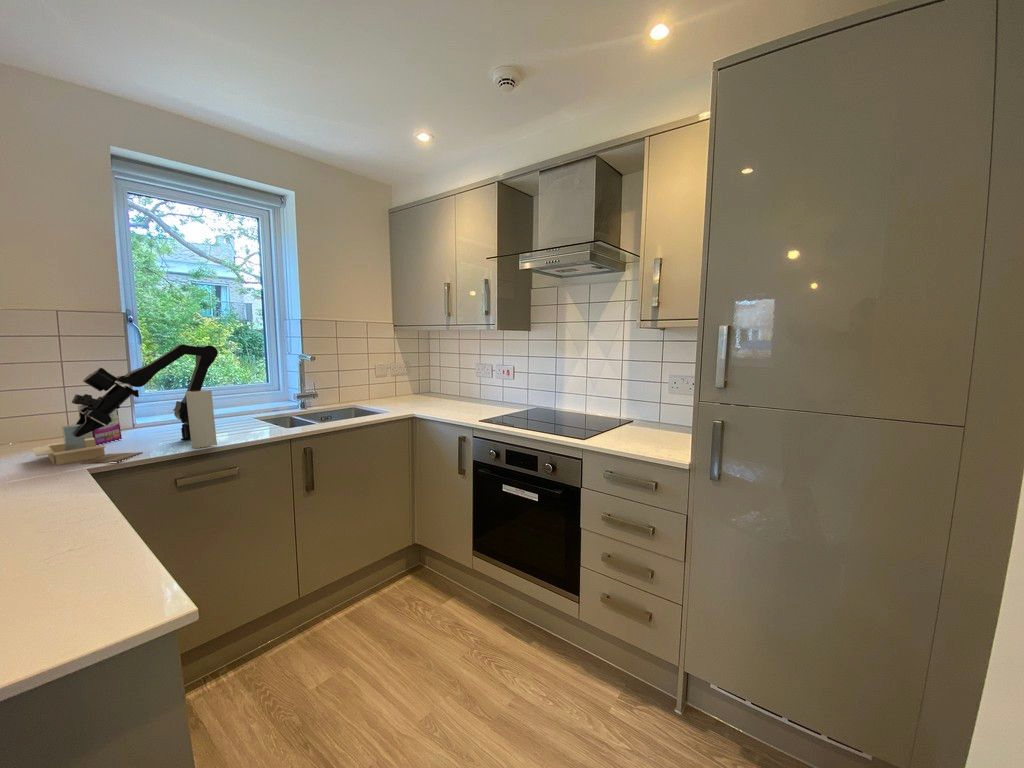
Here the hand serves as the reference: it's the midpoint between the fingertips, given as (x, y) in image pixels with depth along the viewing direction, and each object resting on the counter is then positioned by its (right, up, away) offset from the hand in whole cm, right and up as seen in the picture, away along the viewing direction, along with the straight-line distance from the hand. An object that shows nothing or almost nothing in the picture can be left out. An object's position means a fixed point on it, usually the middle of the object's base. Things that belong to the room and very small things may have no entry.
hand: (73, 434), depth 145 cm
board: (+16, -8, -2) cm, 18 cm away
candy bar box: (-11, -6, +22) cm, 25 cm away
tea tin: (0, -8, +1) cm, 8 cm away
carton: (+1, -8, +2) cm, 8 cm away
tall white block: (+35, -6, +13) cm, 38 cm away
